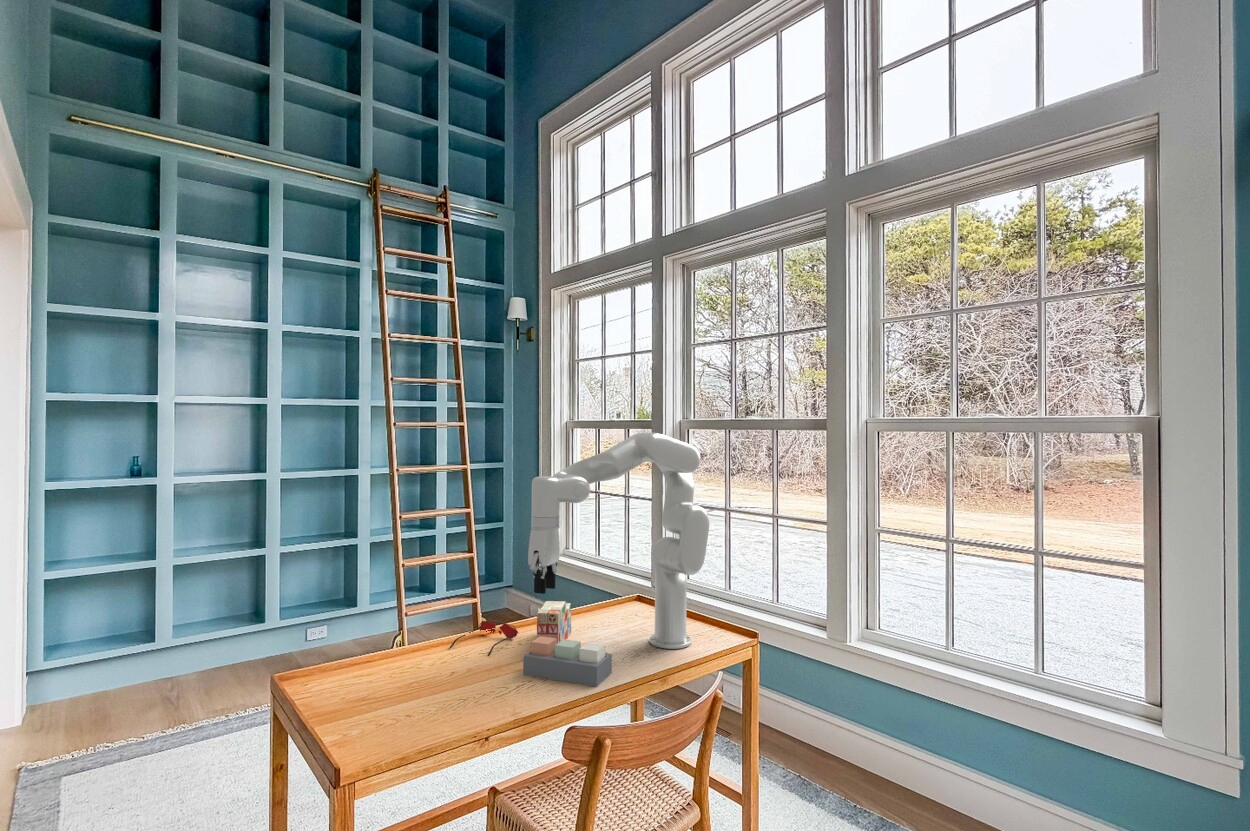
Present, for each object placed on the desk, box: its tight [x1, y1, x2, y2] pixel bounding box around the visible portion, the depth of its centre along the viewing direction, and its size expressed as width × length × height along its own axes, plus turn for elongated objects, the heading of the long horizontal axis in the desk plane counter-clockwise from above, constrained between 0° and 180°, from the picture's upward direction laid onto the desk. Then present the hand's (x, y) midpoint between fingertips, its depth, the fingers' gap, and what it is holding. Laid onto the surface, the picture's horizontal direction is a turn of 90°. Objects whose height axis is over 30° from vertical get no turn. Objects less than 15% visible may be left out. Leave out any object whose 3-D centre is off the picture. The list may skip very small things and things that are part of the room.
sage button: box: [555, 639, 582, 660], centre depth 175 cm, size 5×5×5 cm
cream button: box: [580, 642, 606, 663], centre depth 173 cm, size 5×5×5 cm
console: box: [522, 649, 613, 688], centre depth 175 cm, size 10×21×5 cm, turn 69°
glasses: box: [448, 620, 519, 657], centre depth 198 cm, size 14×16×5 cm
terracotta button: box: [531, 636, 557, 656], centre depth 178 cm, size 5×5×5 cm
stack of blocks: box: [536, 600, 572, 644], centre depth 200 cm, size 21×6×12 cm, turn 174°
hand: (544, 589), depth 178 cm, fingers open, 4 cm apart
